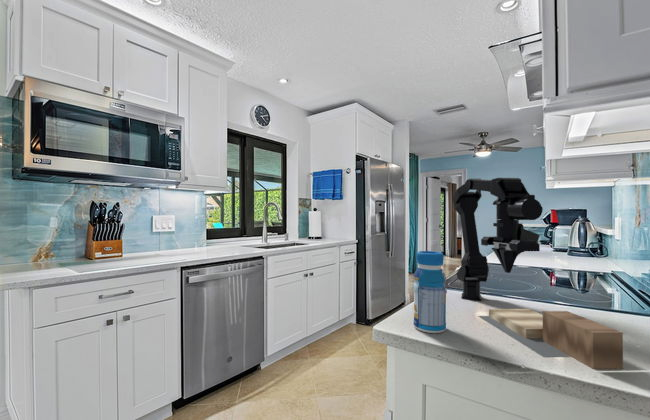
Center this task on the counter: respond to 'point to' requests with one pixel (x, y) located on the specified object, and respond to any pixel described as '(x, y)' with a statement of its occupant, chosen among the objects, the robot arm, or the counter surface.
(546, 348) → the rubber mat
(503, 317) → the birch board
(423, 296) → the beverage bottle
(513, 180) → the robot arm
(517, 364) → the counter surface
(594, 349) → the walnut block
